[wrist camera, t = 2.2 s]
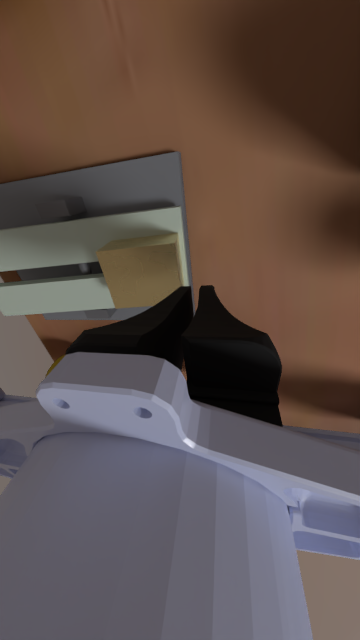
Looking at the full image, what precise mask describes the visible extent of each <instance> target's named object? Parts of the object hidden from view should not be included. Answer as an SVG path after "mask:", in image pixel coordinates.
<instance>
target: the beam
mask: <svg viewBox="0 0 360 640" xmlns="http://www.w3.org/2000/svg"><path fill="white" fill-rule="evenodd" d="M172 233H178V236H179V244H180V253H181V261H182V270H183V278H184V286H189V278H188V268H187V258H186V249H185V239H184V229H183V220H182V210H181V206H173V207H166V208H158V209H151V210H143V211H136V212H128V213H121V214H113V215H106V216H98V217H91V218H83V219H76V220H71V219H69V220H63V221H60V222H54V223H46V224H39V225H31V226H24V227H16V228H9V229H1V230H0V272H2V271H11V270H21V269H30V268H40V267H49V266H59V265H69V264H78V266H79V268H80V271H81V273H82V275H79V276H69V277H59V278H48V279H38V280H28V281H17V282H7V283H0V310H1V312H2V313H3V315H5V316H13V315H27V314H41V313H54V312H68V311H81V310H95V309H109V308H115V306H114V303H113V300H112V297H111V294H110V292H109V289H108V286H107V283H106V280H105V277H104V275H103V273H100V274H92V272H91V269H90V267H89V264H88V262H97V261H99V260H98V258H97V255H96V251H97V250H99V249H100V248H102V247H103V246H105V245H106V244H107V243H109V242H110V241H112V240H120V239H129V238H138V237H146V236H155V235H163V234H172Z"/></svg>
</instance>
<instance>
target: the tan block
mask: <svg viewBox="0 0 360 640" xmlns="http://www.w3.org/2000/svg"><path fill="white" fill-rule="evenodd" d="M96 255H97V258H98V260H99V263H100V266H101V269H102V272H103V275H104V277H105V280H106V283H107V286H108V289H109V292H110V294H111V297H112V300H113V303H114V306H115V309H118V308H132V307H145V306H154V305H156V304H157V303H159V302H160V301H162V300H163V299H165V298H166V297H167V296H169V295H170V294H171V293H172V292H174V291H175V290H176V289H178V288H179V287H181V286H184V278H183V270H182V261H181V253H180V244H179V236H178V233H172V234H163V235H155V236H146V237H138V238H129V239H120V240H112V241H110V242H109V243H107V244H106V245H105V246H103V247H102V248H100V249H99V250H97V251H96Z"/></svg>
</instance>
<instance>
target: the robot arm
mask: <svg viewBox="0 0 360 640" xmlns="http://www.w3.org/2000/svg"><path fill="white" fill-rule="evenodd" d="M183 359H184V361H185V367H186V374H187V383H186V380H185V378H184V376H183V375H182V373H181V369H182V363H183ZM281 373H282V365H281V361H280V358H279V355H278V353H277V350H276V348H275V346H274V345H273V343H272V341H271V339H270V337H269V336H268V334H266V333H264V332H261V331H259V330H256V329H254V328H252V327H250V326H248V325H246V324H244V323H242V322H241V321H239V320H238V319H236V318H235V317H234V316H232V315H231V314H230V313H229V312H228V311H227V310H226V308H225V307H224V306H223V305H222V303H221V302H220V300H219V299H218V297H217V295H216V293H215V290H214V287H213V286H212V285H208V286H201V287H200V289H199V301H198V308H197V310H196V313H195V315H194V311H193V301H192V290H191V286H181V287H179V288H178V289H176V290H175V291H174V292H172V293H171V294H170V295H169V296H167V297H166V298H165V299H163V300H162V301H160V302H159V303H157V304H156V305H154V306H153V307H151V308H149V309H147V310H146V311H144V312H142V313H140V314H137V315H135V316H133V317H130V318H128V319H125V320H123V321H120V322H117V323H113V324H110V325H106V326H102V327H98V328H93V329H89V330H84V331H83V332H82V334H81V335H80V336H79V337H78V338H77V339H76V340H75V341H74V342H73V343H72V345H71V346H70V347H69V348H68V349H67V351H66V354H65V356H64V358H63V359H62V360H61V361H60V362H59V363H58V364H57V365H56V366H55V368H54V369H53V370H52V371H51V372H50V373H49V374H48V375H47V376H46V378H45V379H44V380H43V381H42V382H41V383H40V384H39V387H38V388H37V390H36V396H37V398H31V397H22V396H13V395H5V393H4V391H3V390H2V389H1V388H0V475H1V476H4V477H8V478H10V479H12V480H11V481H10V482H9V484H8V485H7V487H6V488H5V489H4V491H3V492H2V494H1V495H0V640H313V637H312V631H311V626H310V621H309V616H308V610H307V605H306V600H305V595H304V589H303V584H302V578H301V573H300V568H299V563H298V557H297V552H296V550H302V551H308V552H314V553H320V554H327V555H332V556H339V557H345V558H351V559H357V560H360V434H357V433H348V432H339V431H330V430H320V429H311V428H302V427H293V426H284V425H282V421H281V417H280V412H279V408H278V405H279V398H278V393H277V389H278V385H279V381H280V377H281Z"/></svg>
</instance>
